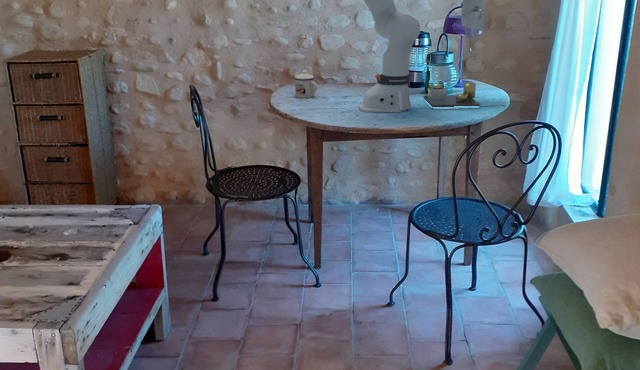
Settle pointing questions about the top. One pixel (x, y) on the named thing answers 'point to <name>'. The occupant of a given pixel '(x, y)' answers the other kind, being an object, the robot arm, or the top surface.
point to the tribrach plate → (445, 98)
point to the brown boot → (467, 91)
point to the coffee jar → (427, 73)
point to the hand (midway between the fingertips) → (471, 39)
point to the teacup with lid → (305, 85)
